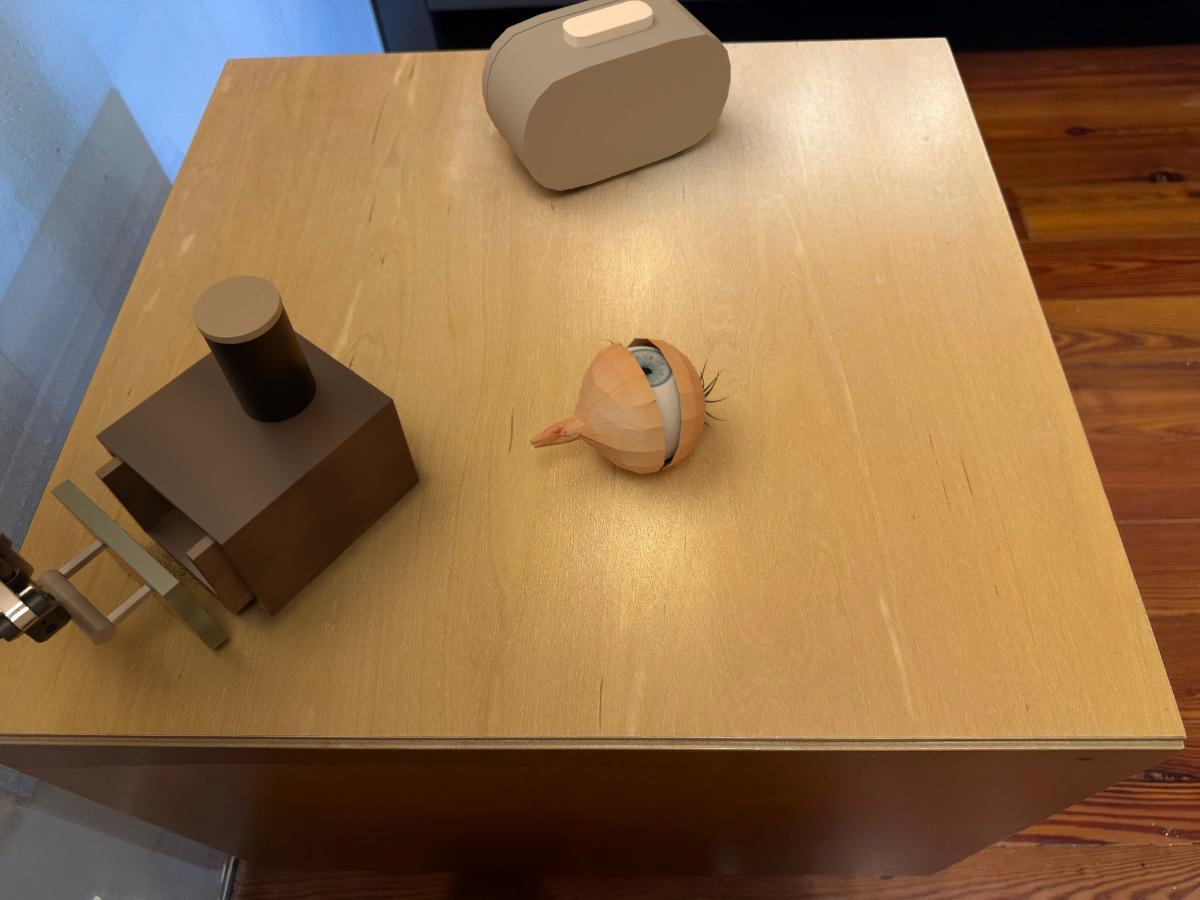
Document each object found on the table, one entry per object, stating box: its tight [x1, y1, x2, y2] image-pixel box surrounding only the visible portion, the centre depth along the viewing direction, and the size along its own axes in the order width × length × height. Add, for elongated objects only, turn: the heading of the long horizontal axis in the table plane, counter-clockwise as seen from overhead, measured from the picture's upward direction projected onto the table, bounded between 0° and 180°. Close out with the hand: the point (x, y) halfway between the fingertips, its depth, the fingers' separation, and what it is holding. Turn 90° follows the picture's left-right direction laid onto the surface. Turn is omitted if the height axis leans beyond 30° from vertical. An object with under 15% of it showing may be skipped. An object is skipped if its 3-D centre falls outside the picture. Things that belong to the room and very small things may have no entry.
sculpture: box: [529, 337, 729, 475], centre depth 64 cm, size 9×9×15 cm
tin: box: [192, 274, 316, 422], centre depth 56 cm, size 5×5×8 cm
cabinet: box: [95, 330, 420, 617], centre depth 62 cm, size 14×13×10 cm
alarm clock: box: [481, 0, 732, 192], centre depth 83 cm, size 21×10×13 cm, turn 117°
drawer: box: [37, 457, 255, 652], centre depth 59 cm, size 17×11×8 cm
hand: (51, 624), depth 54 cm, fingers closed
